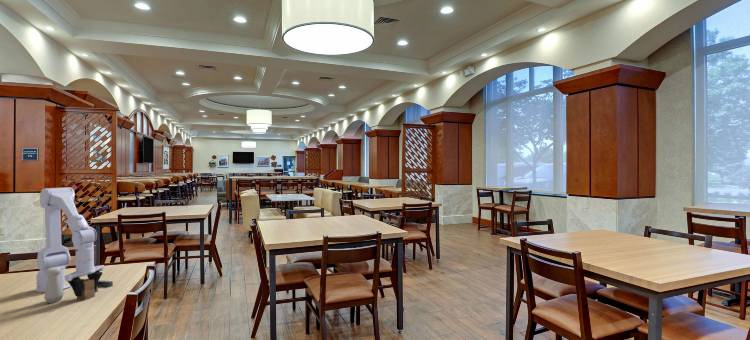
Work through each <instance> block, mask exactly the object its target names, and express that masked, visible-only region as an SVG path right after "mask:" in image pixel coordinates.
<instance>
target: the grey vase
mask: <svg viewBox="0 0 750 340" xmlns="http://www.w3.org/2000/svg"><path fill="white" fill-rule="evenodd" d="M60 273H61V268H59V267H55V268H50V269H48V270H47V272H46V274H47V275H49V276H48V281H47V286H46V290H45V292H44V295H43V298H44V300H45V302H46V303H47V304H54V303H53V302H55V303H58V302H60V300H61V301H62V300H63V297H64V295H65V293H64V289H63V288H62V285H61V280H60V276H59V274H60Z"/></svg>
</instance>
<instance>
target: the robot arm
mask: <svg viewBox="0 0 750 340" xmlns="http://www.w3.org/2000/svg"><path fill="white" fill-rule="evenodd" d="M75 196H76V194H75V190H74V189H73V188H72V187H71V186H67V187H50V188H47V187H46V188H42V190H41V191H40V193H39V204H40V208H43V209H44V219H45V220H44V222H45V226H44V227H45V244H46V245H45V247H43V248H42V249H41V250H39V251H38V252H37V258H36V267H37V268H38V269H39V271H38V272H37V274H36V278H35V279H36V280H35V281H36V282H35V283H36V289H35V290H34V292H38V293H39V292H40V293H45V290H46V286H47V281H48V276H49V275H47V274H46V272H47V270H48V269H50V268H55V267H59V268H61V273H60V274H59V276H60V280H61V285H62V288H63V290H65V289H67V288H71V289H72V291H73V293H74V296H75V297H77V296H81V294H82V284H83V281H84V279H83V278H81V277H85V276H86V277H87V279H94V287H95V291H96V287H97V284H98V281H99V280H101V279H100V278H101V277H102V275H103V271H105V265H104V264H103V265H96V266H95V243H96V241H97V239H98V233H97V231H96V229H95V228H93V227H92V226H90V225H89V223H88V222H87V220H86V219H85V216H84V215H83V214H79V212H78V209H77V207H76V205H75V203H74V202H75ZM61 210H62V212H63V213H64V215H65V216H66V218H67V219H66V224H67V226H68V228H69V230H70V232H71V234H72V237H71V241H72V244H73V249H74V250H75V271H73V272H71V273H69V274H66V268H67V267H68V265H69V264H70V263H71V254H70V250H69V248H68V247H67V246H64V245H62V225H61V224H62V222H61V221H62V219H61ZM66 282H67V283H68V284H66Z"/></svg>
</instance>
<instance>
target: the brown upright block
mask: <svg viewBox="0 0 750 340" xmlns="http://www.w3.org/2000/svg"><path fill="white" fill-rule="evenodd" d="M95 293H96V292H95V287H94V279H88V278H85V279H84V281H83V284H82V294H81V296H76V300H78V301H86V300H90V299H92V298H94V297H95V296H96V295H95Z"/></svg>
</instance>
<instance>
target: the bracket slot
mask: <svg viewBox="0 0 750 340" xmlns="http://www.w3.org/2000/svg"><path fill="white" fill-rule="evenodd" d="M113 283H114V281H113V280H101V279H99V281H98V284H97V287H96V291H95V293H97V292H99V291H98V290H99V287H104V288H105V287H106V288H107V287H108V288H111V287H113V286H114V284H113Z"/></svg>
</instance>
